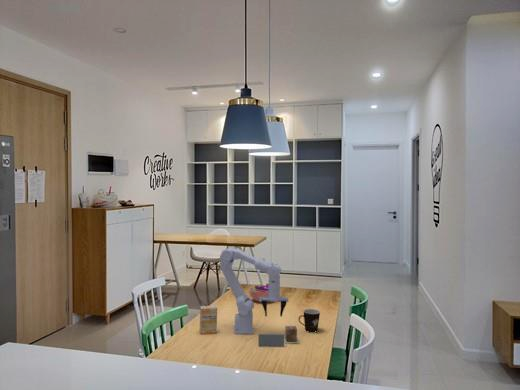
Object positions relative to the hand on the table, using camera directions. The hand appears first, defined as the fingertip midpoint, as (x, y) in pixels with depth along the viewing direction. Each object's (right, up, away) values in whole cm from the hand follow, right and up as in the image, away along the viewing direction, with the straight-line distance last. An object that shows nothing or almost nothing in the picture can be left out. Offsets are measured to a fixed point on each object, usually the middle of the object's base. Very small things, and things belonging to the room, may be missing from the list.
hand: (273, 315), depth 200 cm
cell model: (-5, -9, +61) cm, 62 cm away
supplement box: (-33, -9, +1) cm, 34 cm away
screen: (-2, -10, -15) cm, 18 cm away
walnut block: (+8, -9, -9) cm, 15 cm away
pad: (+8, -10, -9) cm, 15 cm away
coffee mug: (+19, -10, +7) cm, 22 cm away
